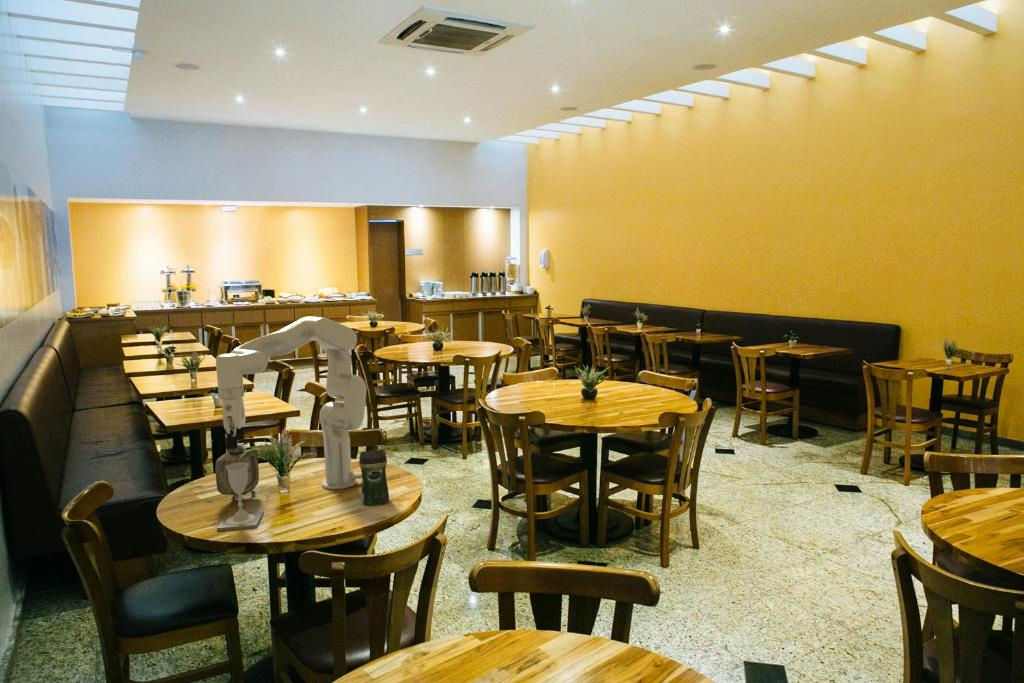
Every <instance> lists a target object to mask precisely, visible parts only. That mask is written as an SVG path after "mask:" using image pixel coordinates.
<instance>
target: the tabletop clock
mask: <svg viewBox="0 0 1024 683" xmlns="http://www.w3.org/2000/svg"><path fill="white" fill-rule="evenodd" d="M240 441H241V440H237V446H238V447H237V448H236V449H228V451H227V452H226V453H224V454H222V455H221V456H220V457H218V458H217V459H216V461H215V467H214V469H215V483H216V488H217V492H218V493H219V494H221V495H223V496H231V499H230V500H231V501H232V502H235V501H236V500H237V499H238V494H236V493H235V492H234V491H233V489H232V487H231V485H230V483H229V479H228V470H227V468H226V466H228V465H230V464H233V463H238V462H245V463H248V464H249V465H248V467H247V471H248V481H247V485H246V487H245V490H244V492H243V493H241V496H246V495H247V494H249V493H250V495H252V496H254V495H256V492H257V491H255V490H254V489H255V488H256V487H257V486H258V484H259V481H260V480H259V478H260V468H259V458H258V454H257V453H258V452H257V449H245V448H244V446H243V445H241V444H239V443H240ZM234 500H235V501H234ZM238 503H239V501H238V500H237V502H236V505H237V507H239V506H238Z"/></svg>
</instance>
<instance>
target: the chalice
mask: <svg viewBox="0 0 1024 683" xmlns="http://www.w3.org/2000/svg"><path fill="white" fill-rule="evenodd" d="M248 465H249V464H248V463H245V462H238V463H233V464H230V465H228V466H226V468H227V470H228V479H229V483H230V485H231V487H232V489H233V491H234V492H235V493H236V494H238V499H237V498H236V500H238V501H239V503H238V506H237V507H238V511H236V512H234V513H235V516H234V519H233V521H235V522H242V521H245V520H248V519H249V518H250V517H249V516H248V514H247V512H248V511H246V510H244V509H243V505H244V503H243V502H242V501H243V498H242V495H241V493H243V492H244V490H245V487H246V485H247V481H248V471H247V467H248ZM238 501H237V502H238Z"/></svg>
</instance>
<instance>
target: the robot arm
mask: <svg viewBox="0 0 1024 683" xmlns="http://www.w3.org/2000/svg"><path fill="white" fill-rule="evenodd" d="M312 341H315V342H316V343H317V344H318V345H319V347H320V348H322V350H323V351H324V353H325V354H326V357H327V375H326V384H325V385H326V386H325V388H326V389H325V391H326V393H327V396H329V397H330V398H333V399H338V400H344V402H339V401H328V402H326V403H325V404H323V405H322V407H320V410H319V421H320V426H321V429H322V434H323V435H322V436H323V448H324V449H323V450H324V452H323V453H324V467H325V479H323V480H322V482H321V487H322V488H324V489H327V490H341V489H346V488H349V487H350V488H351V487H353V486H354V485H355V484H356V483H357V480H362V472H355V471H354V470H353V468H352V457H351V438H350V433H349V431H353V432H354V431H356V430H358V429H360V427H361V426H362V424H363V422H364V418H365V411H366V410H365V409H366V400H367V385H366V382H365V380H364V379H363V377H361V376H360V375H357V374H352V356H351V353H350V351H351V350H352V349H354V348H355V346H356V345H357V343H358V342H357V341H358V337H357V334H356V332H355V331H354V329H352V328H351V327H349V326H346V325H344V324H342V323H339V322H337V321H335V320H332V319H329V318H327V317H324V316H304V317H302V318H298V320H296V321H294V322H293V323H290V324H289V325H286V326H284V327H282V328H281V329H279V330H278V331H277V330H276V331H275V332H272V333H268V334H266V335H263V336H260V337H256V338H254V339H251V340H249V341H246V342H244V343H243V344H241V345H239V346H237V347H235V348H234V349H232V351H230V353H223V354H220V355H219V354H218V355H217V356H216V358H215V368H216V379H217V390H218V399H220V400H221V402H222V403H221V408H222V422H223V428H224V430H225V445H226V449H227V450H229V449H236V448H237V447H238V446H237V445H238V443H237V441H238V440H240V441H243V440H245V434H244V432H245V431H244V425H245V424H246V420H247V419H246V410H245V404H244V398H243V397H245V390H244V389H245V388H244V376H243V375H254V374H260V373H262V372H263V371H265V370H266V368H267V367H268V364H269V359H268V358H270V357H280V356H284V355H288V354H290V353H293V352H294V351H296V350H298V349H299V348H301V347H303V346H304V345H306V344H309V343H310V342H312Z"/></svg>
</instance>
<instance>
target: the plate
mask: <svg viewBox="0 0 1024 683" xmlns="http://www.w3.org/2000/svg"><path fill="white" fill-rule="evenodd" d="M246 512H247V514H248V516H249V517H250V518H249V519H248V520H245V521H242V522H235V521H233V519H234V516H235V513H236V512H233V513H225V514H224V517H223V518H222V519H221V520H220V522H219V524H218V526H217V527H216V531H217V530H218V531H217V532H220V531H219V530H225V531H234V529H237V530H244V529H245V530H246V528H249V529H257V527H258V526H259V524H260V522H261V520H262V518H263V516H264V510H260V511H246ZM262 515H263V516H262ZM261 517H262V518H261Z"/></svg>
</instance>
